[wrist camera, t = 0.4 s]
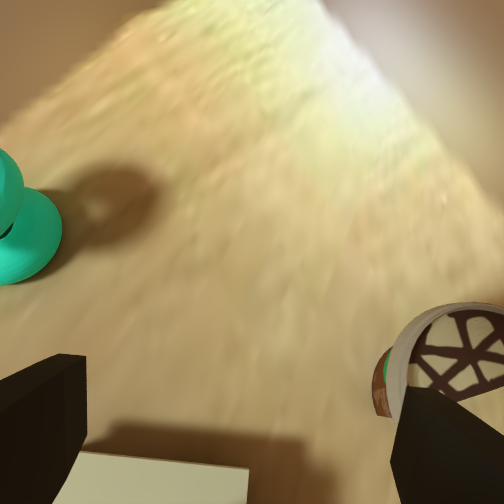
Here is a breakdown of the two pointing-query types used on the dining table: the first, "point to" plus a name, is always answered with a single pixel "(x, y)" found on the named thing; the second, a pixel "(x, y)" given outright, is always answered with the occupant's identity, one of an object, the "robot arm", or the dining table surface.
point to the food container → (443, 356)
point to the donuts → (24, 226)
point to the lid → (151, 481)
